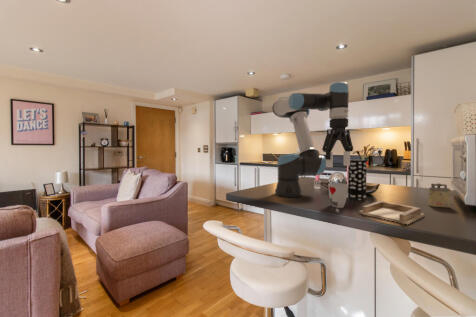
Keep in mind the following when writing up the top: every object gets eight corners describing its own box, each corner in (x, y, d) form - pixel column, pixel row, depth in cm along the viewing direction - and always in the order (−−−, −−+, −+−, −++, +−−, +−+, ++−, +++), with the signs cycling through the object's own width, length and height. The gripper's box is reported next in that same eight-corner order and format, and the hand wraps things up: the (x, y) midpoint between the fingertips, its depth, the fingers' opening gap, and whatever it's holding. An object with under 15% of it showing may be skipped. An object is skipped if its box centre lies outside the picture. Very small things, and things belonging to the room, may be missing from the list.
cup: (325, 203, 100) (325, 183, 100) (342, 203, 100) (342, 182, 100) (332, 208, 92) (332, 186, 92) (351, 208, 92) (351, 185, 92)
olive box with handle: (447, 206, 94) (448, 183, 93) (451, 208, 90) (452, 185, 90) (427, 204, 97) (427, 182, 96) (430, 206, 93) (431, 184, 93)
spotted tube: (368, 200, 106) (369, 160, 105) (350, 199, 108) (351, 160, 107) (362, 196, 114) (363, 159, 113) (345, 196, 116) (346, 159, 115)
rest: (359, 213, 85) (359, 206, 85) (378, 206, 94) (378, 200, 94) (407, 225, 72) (407, 216, 72) (424, 216, 81) (424, 208, 81)
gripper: (329, 115, 84) (329, 168, 85) (361, 119, 98) (361, 165, 99) (313, 117, 91) (313, 167, 92) (346, 121, 104) (345, 164, 105)
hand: (338, 166), depth 95 cm, fingers open, 13 cm apart
